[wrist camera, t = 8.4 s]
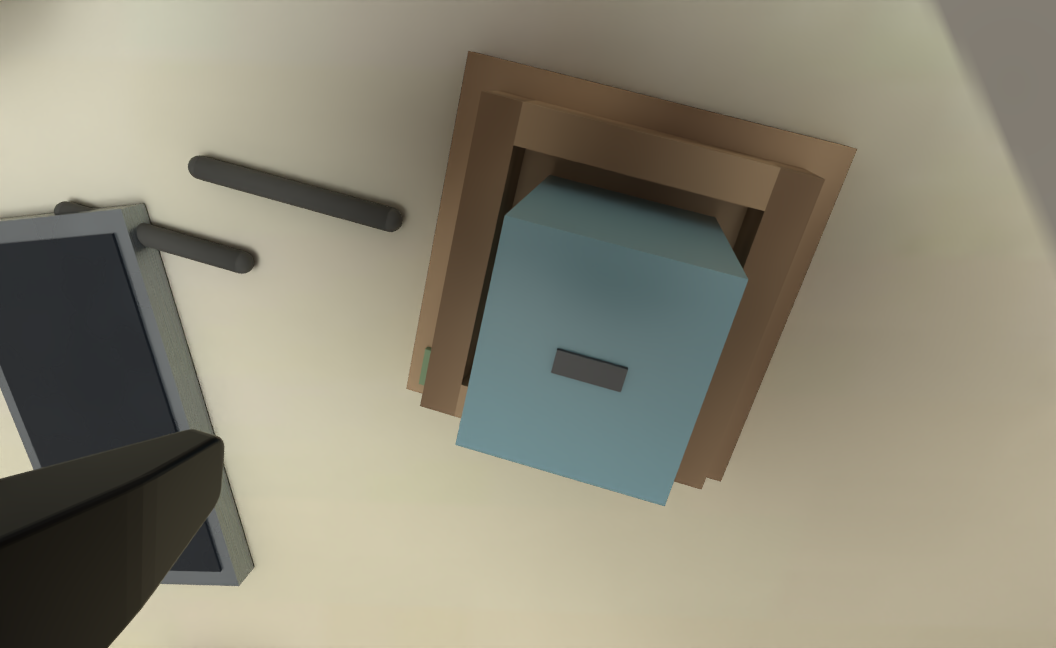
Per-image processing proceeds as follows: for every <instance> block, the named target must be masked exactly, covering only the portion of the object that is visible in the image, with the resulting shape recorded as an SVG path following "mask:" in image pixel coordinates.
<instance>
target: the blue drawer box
mask: <svg viewBox="0 0 1056 648" xmlns="http://www.w3.org/2000/svg"><path fill="white" fill-rule="evenodd" d="M747 282H748V278H747V276H746V274H745V272H744V270H743V268H742V266H741V265H740V263H739V261H738V259H737V257H736V255H735V253H734V251H733V250H732V248H731V246H730V244H729V242H728V240H727V238H726V236H725V234H724V233H723V231H722V229H721V227H720V225H719V223H718V221H717V219H716V218H715V217H712V216H708V215H704V214H700V213H697V212H693V211H689V210H685V209H681V208H677V207H673V206H669V205H665V204H662V203H658V202H654V201H650V200H646V199H642V198H638V197H634V196H630V195H627V194H623V193H619V192H615V191H611V190H607V189H603V188H599V187H596V186H592V185H588V184H584V183H580V182H576V181H572V180H568V179H564V178H561V177H557V176H553V175H549V176H548V177H547V178H546V179H545V180H543V181H542V182H541V183H540V184H539V185H538V186H537V187H536V188H535V189H533V190H532V191H531V192H530V193H529V194H528V195H527V196H526V197H525V198H523V199H522V200H521V201H520V202H519V203H518V204H517V205H516V206H515V207H513V208H512V209H511V210H510V211H509V212H508V213H507V214H506V215H505V217H504V221H503V226H502V231H501V235H500V240H499V245H498V249H497V254H496V259H495V263H494V268H493V273H492V277H491V282H490V287H489V291H488V296H487V300H486V305H485V310H484V314H483V319H482V324H481V328H480V333H479V338H478V342H477V347H476V352H475V356H474V361H473V366H472V370H471V375H470V380H469V384H468V389H467V394H466V398H465V403H464V408H463V412H462V417H461V421H460V426H459V431H458V435H457V440H456V445H458V446H461V447H465V448H468V449H472V450H475V451H478V452H482V453H485V454H489V455H492V456H495V457H499V458H502V459H506V460H509V461H512V462H516V463H519V464H523V465H526V466H529V467H533V468H536V469H540V470H543V471H546V472H550V473H553V474H557V475H560V476H563V477H567V478H570V479H574V480H577V481H580V482H584V483H587V484H591V485H594V486H597V487H601V488H604V489H608V490H611V491H614V492H618V493H621V494H625V495H628V496H632V497H635V498H638V499H642V500H645V501H649V502H652V503H655V504H659V505H662V506H665V504H666V501H667V499H668V496H669V493H670V490H671V488H672V485H673V482H674V480H675V477H676V474H677V472H678V469H679V466H680V463H681V461H682V458H683V455H684V453H685V450H686V447H687V444H688V442H689V439H690V436H691V434H692V431H693V428H694V425H695V423H696V420H697V417H698V415H699V412H700V409H701V407H702V404H703V401H704V398H705V396H706V393H707V390H708V388H709V385H710V382H711V379H712V377H713V374H714V371H715V369H716V366H717V363H718V361H719V358H720V355H721V352H722V350H723V347H724V344H725V342H726V339H727V336H728V333H729V331H730V328H731V325H732V323H733V320H734V317H735V314H736V312H737V309H738V306H739V304H740V301H741V298H742V296H743V293H744V290H745V287H746V285H747Z"/></svg>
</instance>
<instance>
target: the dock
mask: <svg viewBox="0 0 1056 648" xmlns="http://www.w3.org/2000/svg"><path fill="white" fill-rule="evenodd" d="M856 151H857V149H855V148H852V147H848V146H845V145H841V144H837V143H833V142H829V141H825V140H821V139H817V138H813V137H809V136H805V135H801V134H797V133H793V132H789V131H785V130H781V129H777V128H773V127H769V126H765V125H761V124H757V123H753V122H749V121H745V120H742V119H738V118H734V117H730V116H726V115H722V114H718V113H714V112H710V111H706V110H702V109H698V108H694V107H690V106H686V105H682V104H678V103H674V102H670V101H666V100H662V99H658V98H654V97H650V96H646V95H642V94H638V93H634V92H631V91H627V90H623V89H619V88H615V87H611V86H607V85H603V84H599V83H595V82H591V81H587V80H583V79H579V78H575V77H571V76H567V75H563V74H559V73H555V72H551V71H547V70H543V69H539V68H535V67H531V66H527V65H523V64H519V63H516V62H512V61H508V60H504V59H500V58H496V57H492V56H488V55H484V54H480V53H476V52H471V51H468V56H467V61H466V66H465V72H464V77H463V83H462V88H461V94H460V99H459V105H458V110H457V115H456V121H455V126H454V132H453V137H452V143H451V148H450V154H449V159H448V165H447V170H446V175H445V181H444V186H443V192H442V197H441V203H440V208H439V214H438V219H437V225H436V230H435V235H434V241H433V246H432V252H431V257H430V263H429V268H428V274H427V279H426V284H425V290H424V295H423V301H422V306H421V312H420V317H419V323H418V328H417V334H416V339H415V344H414V350H413V355H412V361H411V366H410V372H409V377H408V383H407V388H406V389H409V390H412V391H416V392H419V393H422V399H421V404H420V406H422V407H425V408H429V409H432V410H435V411H439V412H442V413H445V414H449V415H452V416H456V417H459V418H461V417H462V412H463V408H464V403H465V398H466V394H467V389H468V384H469V380H470V375H471V370H472V366H473V361H474V356H475V352H476V347H477V342H478V338H479V333H480V328H481V324H482V319H483V314H484V310H485V305H486V300H487V296H488V291H489V287H490V282H491V277H492V273H493V268H494V263H495V259H496V254H497V249H498V245H499V240H500V235H501V231H502V226H503V221H504V217H505V215H506V214H507V213H508V212H509V211H510V210H511V209H512V208H513V207H515V206H516V205H517V204H518V203H519V202H520V201H521V200H522V199H523V198H525V197H526V196H527V195H528V194H529V193H530V192H531V191H532V190H533V189H535V188H536V187H537V186H538V185H539V184H540V183H541V182H542V181H543V180H545V179H546V178H547V177H548V176H549V175H553V176H557V177H561V178H564V179H568V180H572V181H576V182H580V183H584V184H588V185H592V186H596V187H599V188H603V189H607V190H611V191H615V192H619V193H623V194H627V195H630V196H634V197H638V198H642V199H646V200H650V201H654V202H658V203H662V204H665V205H669V206H673V207H677V208H681V209H685V210H689V211H693V212H697V213H700V214H704V215H708V216H712V217H715V218H716V219H717V221H718V223H719V225H720V227H721V229H722V231H723V233H724V234H725V236H726V238H727V240H728V242H729V244H730V246H731V248H732V250H733V251H734V253H735V255H736V257H737V259H738V261H739V263H740V265H741V266H742V268H743V270H744V272H745V274H746V276H747V278H748V282H747V285H746V287H745V290H744V293H743V296H742V298H741V301H740V304H739V306H738V309H737V312H736V314H735V317H734V320H733V323H732V325H731V328H730V331H729V333H728V336H727V339H726V342H725V344H724V347H723V350H722V352H721V355H720V358H719V361H718V363H717V366H716V369H715V371H714V374H713V377H712V379H711V382H710V385H709V388H708V390H707V393H706V396H705V398H704V401H703V404H702V407H701V409H700V412H699V415H698V417H697V420H696V423H695V425H694V428H693V431H692V434H691V436H690V439H689V442H688V444H687V447H686V450H685V453H684V455H683V458H682V461H681V463H680V466H679V469H678V472H677V474H676V477H675V480H674V482H678V483H681V484H685V485H688V486H691V487H695V488H698V489H702V487H703V484H704V482H705V479H706V477H707V478H710V479H714V480H717V481H720V482H721V480H722V477H723V475H724V472H725V470H726V467H727V465H728V463H729V460H730V458H731V455H732V453H733V450H734V448H735V446H736V443H737V441H738V438H739V436H740V433H741V431H742V428H743V426H744V424H745V421H746V419H747V416H748V414H749V411H750V409H751V407H752V404H753V402H754V399H755V397H756V394H757V392H758V390H759V387H760V385H761V382H762V380H763V377H764V375H765V372H766V370H767V368H768V365H769V363H770V360H771V358H772V355H773V353H774V351H775V348H776V346H777V343H778V341H779V338H780V336H781V333H782V331H783V329H784V326H785V324H786V321H787V319H788V316H789V314H790V312H791V309H792V307H793V304H794V302H795V299H796V297H797V295H798V292H799V290H800V287H801V285H802V282H803V280H804V277H805V275H806V273H807V270H808V268H809V265H810V263H811V260H812V258H813V256H814V253H815V251H816V248H817V246H818V243H819V241H820V238H821V236H822V234H823V231H824V229H825V226H826V224H827V221H828V219H829V217H830V214H831V212H832V209H833V207H834V204H835V202H836V200H837V197H838V195H839V192H840V190H841V187H842V185H843V182H844V180H845V178H846V175H847V173H848V170H849V168H850V165H851V163H852V161H853V158H854V156H855V153H856Z"/></svg>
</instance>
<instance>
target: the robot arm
mask: <svg viewBox="0 0 1056 648" xmlns="http://www.w3.org/2000/svg"><path fill="white" fill-rule="evenodd" d="M223 461H224V443H223V441H222V439H221V438H220V437H218V436H216V435H212V434H209V433H206V432H203V431H200V430H196V429H188V430H184V431H180V432H176V433H173V434H169V435H165V436H161V437H157V438H154V439H150V440H146V441H142V442H138V443H135V444H131V445H127V446H123V447H119V448H116V449H112V450H108V451H104V452H100V453H97V454H93V455H89V456H85V457H81V458H78V459H74V460H70V461H66V462H62V463H59V464H55V465H51V466H47V467H43V468H40V469H36V470H32V471H28V472H24V473H21V474H17V475H13V476H9V477H5V478H2V479H0V648H108V647H109V646H110V645H111V644H112V642H113V641H114V640H115V639H116V638H117V637H118V636H119V634H120V633H121V632H122V631H123V630H124V629H125V628H126V626H127V625H128V624H129V623H130V622H131V620H132V619H133V618H134V617H135V616H136V614H137V613H138V612H139V611H140V610H141V609H142V607H143V606H144V605H145V603H146V602H147V601H148V599H149V598H150V597H151V595H152V594H153V593H154V591H155V590H156V589H157V587H158V586H159V584H160V583H161V582H162V580H163V579H164V577H165V576H166V575H167V573H168V572H169V570H170V569H171V568H172V566H173V565H174V563H175V562H176V561H177V559H178V558H179V556H180V555H181V554H182V552H183V551H184V549H185V548H186V547H187V545H188V544H189V542H190V541H191V540H192V538H193V537H194V535H195V534H196V533H197V531H198V530H199V528H200V527H201V526H202V524H203V523H204V521H205V520H206V519H207V517H208V516H209V515H210V513H211V512H212V510H213V509H214V507H215V506H216V504H217V502H218V499H219V497H220V493H221V488H222V475H223Z"/></svg>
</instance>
